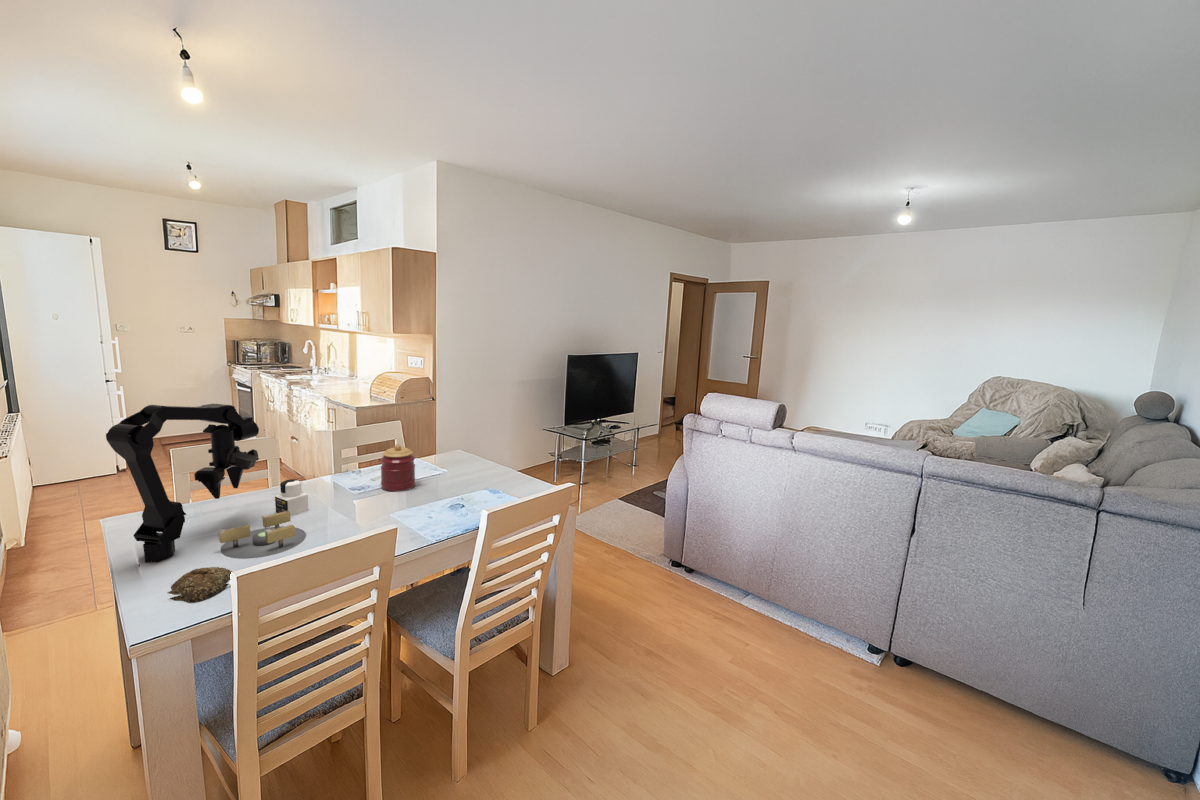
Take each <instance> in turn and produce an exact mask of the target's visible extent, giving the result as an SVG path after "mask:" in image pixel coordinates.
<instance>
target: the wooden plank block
mask: <svg viewBox="0 0 1200 800" xmlns="http://www.w3.org/2000/svg"><path fill="white" fill-rule="evenodd" d="M261 517H262V527H263V528H269V527H275V529H277V528H280V527H281V526H280V525H282V524H286V523H289V522H292V521H291V516H290V512H289V511H284V512H280V513H276V512H275V513H273V514H263V515H262V516H261Z"/></svg>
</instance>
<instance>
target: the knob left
mask: <svg viewBox="0 0 1200 800" xmlns="http://www.w3.org/2000/svg"><path fill="white" fill-rule="evenodd" d="M250 531H251V526H250V525H249V524H245V525H241V526H236V527H233V528H228V529H224V528H222V529H218V531H217V532H218V541H219V543H220V544H224V543H226V542H229V541H233V548H237V547H238V539H242V538H246V537H250Z"/></svg>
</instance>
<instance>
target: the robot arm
mask: <svg viewBox="0 0 1200 800" xmlns="http://www.w3.org/2000/svg"><path fill="white" fill-rule="evenodd" d="M166 421H203V422H207V423H209V424H208V425H207V427H205V428H204V429H203V430H202V433H204V434H210V443H211V446H210V447H211V448H209V449H207V453H208V454H211V457H212V458H211V459H212V461H210V462H209V465H208V466H209V467H202V468H201V469H198V470H196V471H195V473H194V474H193V475H194V481H197V482H199V483H201V484H202V485H203V486H204V487H205V488H206V489H207V490H208V492H209V493H210V494H211V495H212V497H214V499H215V500H217V499H218V500H219V499H220V498H221V485H222V482H223V481H224V480H225V479H226V477H224V476H225V475H226V473H225V472H227V475H228V478H229V480H230V483H231V485H232V487H233V489H238V488H239V485H240V483H241V482H240V481H241V479H242V475H243V472H244V470H245V471H248V470H250V469H251V468H254V467H255V465H256V463H257V461H259V460H260V458H259V454H258V450H257V449H250V450H249V451H241V450H240V447H239V446H238V445H236V442H240V441H243V440H248V439H251V438H255V437H256V436H258V435H259V431H260V428H259V426H258V424H257V423H256V422H255V421H254V420H253V417H252V416H251V417H250V416H245V417H242V416H241V415H240V414H239V413H238V412H237V409H236V407H235V406H234V405H231V404H221V403H208V404H202V405H199V406H177V405H176V406H175V405H173V406H172V405H157V404H149V405H147V406H144V407H143V408H142V409H141V410H140V411H138V412H135V413H134V414H132V415H130V416H127V417H125V418H123V419H122V420H121V421H120V422H118V423H117V424H115V425H112V426H111V427H110V428H109V429H108V431H107V433H105V440H106V442H107V443H108V444H109V446H110V447H111V449H112V450H113V451H114V452H115V453H116V454H118V455H119V456H120V457H121V458H123V459H124V461H125V462H126V465H127V467H128V469H129V471H130V475H131V476H132V479H133V481H134V483H135V486H136V488H137V490H138V493H139V495H140V497H141V499H142V502H143V505H144V508H143V511H142V514H141V517H142V523H141V525H140V526H139V527H138V528H137V530H136V531H135V533H134V534H133V538H134V539H135V540H136V542H143V544H142V546H143V547H142V548H143V556H144V563H146V564H147V563H153V564H155V563H160V562H162V561H167V560H168V559H171V558H172V557H173V556H175V552H176V544H175V542H176V540H178V539H180V538H181V535H182V531H183V528H184V524H185V522H186V517H185V516H187V513H186V512H185V511H184V508H183V504H182V503H181V502H179V501H172V500H170V499H169V497H168V495H167V492H166V490H165V487H164V485H163V482H162V479H161V477H160V475H159V472H158V469H157V467H156V464H155V462H154V460H153V457H152V452H153V449H154V443H155V442H154V437H156V436H157V435H158V434H159V433H160V432H161V430H162V428H163V425H164V424H165V422H166ZM211 423H214V424H211ZM215 423H216V424H217V425H216V424H215ZM140 566H141V565H140V563H139V564H138V567H140Z"/></svg>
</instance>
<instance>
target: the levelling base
mask: <svg viewBox="0 0 1200 800" xmlns="http://www.w3.org/2000/svg"><path fill="white" fill-rule="evenodd" d="M285 526H286V525H285ZM285 526H283V525H282V526H279V527H280V528H281V527H285ZM268 529H270V530H273V529H275V526H270V527H267V528H265V527H263V528H258V529H253V530H250V537H246V538H242V539H238V547H237V548H233V541H229V542H225V543H222V545H221V546H220V553H221V554H222V555H223V556H225V557H227V558H231V559H239V560H240V559H241V560H246V559H247V560H248V559H249V560H250V559H257V558H258V559H259V558H264V557H265V558H266V557H270V556H274V555H278V554H281V553H284V552H286V551H288V550H289V551H290V550H291V549H294V548H296V547H297V546H299V545H300V544H302V543H303V542H304V541H305V540H306V538H307V533H306V531H304V530H303V529H301V528H299V527H295V536H293V537H289V538H286V539H283V545H284V546H283V547H281V548H279V544H278V541H275V542H272V543H267V542H266V539H265V530H268Z"/></svg>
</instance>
